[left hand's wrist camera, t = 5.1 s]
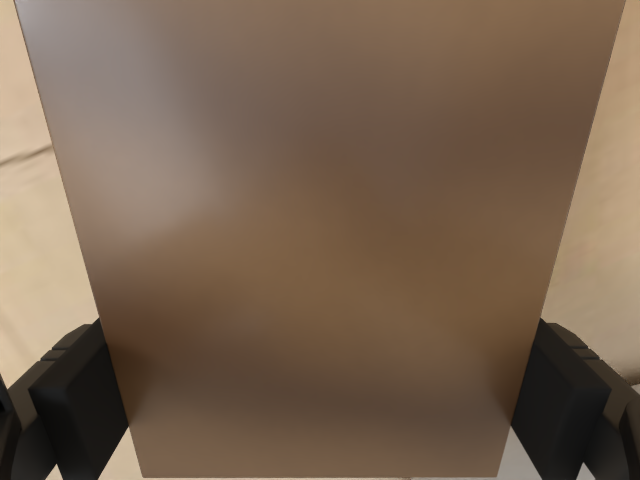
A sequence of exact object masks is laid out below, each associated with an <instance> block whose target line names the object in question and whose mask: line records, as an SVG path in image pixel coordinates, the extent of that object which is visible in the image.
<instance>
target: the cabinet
mask: <svg viewBox="0 0 640 480" xmlns="http://www.w3.org/2000/svg"><path fill="white" fill-rule="evenodd" d="M625 1H626V0H14V4H15V8H16V12H17V15H18V19H19V23H20V26H21V30H22V34H23V37H24V41H25V45H26V48H27V52H28V56H29V60H30V63H31V67H32V71H33V74H34V78H35V82H36V85H37V89H38V93H39V96H40V100H41V104H42V108H43V111H44V115H45V119H46V122H47V126H48V130H49V133H50V137H51V141H52V144H53V148H54V152H55V156H56V159H57V163H58V167H59V170H60V174H61V178H62V181H63V185H64V189H65V192H66V196H67V200H68V204H69V207H70V211H71V215H72V218H73V222H74V226H75V229H76V233H77V237H78V240H79V244H80V248H81V252H82V255H83V259H84V263H85V266H86V270H87V274H88V277H89V281H90V285H91V288H92V292H93V296H94V300H95V303H96V307H97V311H98V314H99V318H100V322H101V325H102V329H103V333H104V336H105V340H106V344H107V348H108V351H109V355H110V359H111V362H112V366H113V370H114V373H115V377H116V381H117V384H118V388H119V392H120V396H121V399H122V403H123V407H124V410H125V414H126V418H127V421H128V425H129V429H130V432H131V436H132V440H133V444H134V447H135V451H136V455H137V458H138V462H139V466H140V469H141V473H142V477H143V478H496V477H497V475H498V471H499V468H500V464H501V460H502V457H503V453H504V449H505V445H506V442H507V438H508V434H509V431H510V427H511V423H512V420H513V416H514V412H515V408H516V405H517V401H518V397H519V394H520V390H521V386H522V382H523V379H524V375H525V371H526V368H527V364H528V360H529V357H530V353H531V349H532V345H533V342H534V338H535V334H536V331H537V327H538V323H539V320H540V316H541V312H542V308H543V305H544V301H545V297H546V294H547V290H548V286H549V283H550V279H551V275H552V271H553V268H554V264H555V260H556V257H557V253H558V249H559V245H560V242H561V238H562V234H563V231H564V227H565V223H566V220H567V216H568V212H569V208H570V205H571V201H572V197H573V194H574V190H575V186H576V183H577V179H578V175H579V171H580V168H581V164H582V160H583V157H584V153H585V149H586V146H587V142H588V138H589V134H590V131H591V127H592V123H593V120H594V116H595V112H596V108H597V105H598V101H599V97H600V94H601V90H602V86H603V83H604V79H605V75H606V71H607V68H608V64H609V60H610V57H611V53H612V49H613V46H614V42H615V38H616V34H617V31H618V27H619V23H620V20H621V16H622V12H623V9H624V5H625Z"/></svg>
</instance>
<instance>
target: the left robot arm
mask: <svg viewBox="0 0 640 480" xmlns="http://www.w3.org/2000/svg"><path fill="white" fill-rule="evenodd" d="M128 426H129V425H128V421H127V418H126V414H125V410H124V407H123V403H122V399H121V396H120V392H119V388H118V384H117V381H116V377H115V373H114V370H113V366H112V362H111V359H110V355H109V351H108V348H107V344H106V340H105V336H104V333H103V329H102V325H101V322H100V318H98V319H97V320H96V321H95V322H94V323H93V324H84V325H82V326H80V327H78V328H77V329H75V330H73V331H72V332H70V333H68V334H67V335H65V336H64V337H63V338H62V339H61V340H60V341H59V342H58V343H57V344H55V345H54V346H53V347H52V350H49V351H48V352H47V353H46V354H45V355H44V356H43V357H42V358H41V360H40V361H37V362H36V363H35V364H34V365H33V366H32V367H31V368H30V369H29V370H28V371H27V372H26V373H25V374H23V375H22V376H21V377H20V378H19V379H18V380H17V381H16V382H15V383H14V384H13V385H12V386H11V387H10V388H9V389H7V388H6V386H5V384H4V381H3V379H2V376H1V374H0V480H45V479H46V478H47V476H48V475H49V474H50V472H51V471H52V469H53V468H54V467H55V465H56V464H57V465H58V468H59V470H60V473H61V475H62V478H63V480H98V478H99V476H100V475H101V473H102V471H103V470H104V468H105V466H106V464H107V463H108V461H109V459H110V457H111V456H112V454H113V452H114V451H115V449H116V447H117V445H118V444H119V442H120V440H121V439H122V437H123V435H124V433H125V432H126V430H127V428H128ZM511 427H512V429H513V431H514V432H515V434H516V436H517V437H518V439H519V441H520V443H521V444H522V446H523V448H524V450H525V451H526V453H527V455H528V456H529V458H530V460H531V462H532V463H533V465H534V467H535V468H536V470H537V472H538V474H539V475H540V477H541V479H542V480H576V479H577V477H578V474H579V472H580V469H581V467H582V464H583V462H584V464H585V465H586V467H587V468H588V469H589V471H590V472H591V474H592V475H593V476H594V478H595V480H640V394H639V393H637V392H636V391H635V390H634V389H633V388H632V387H631V386H630V385H629V384H628V383H627V382H626V381H625V380H623V379H622V378H621V377H620V376H619V375H618V374H617V373H616V372H615V371H614V370H613V369H612V368H611V367H610V366H608V365H607V364H606V363H605V362H604V361H603V360H600V359H599V356H598V355H597V354H596V353H594V352H593V351H592V350H591V349H588V346H587V345H586V344H585V343H584V342H583V341H582V340H581V339H579V338H578V337H577V336H576V335H575V334H574V333H572V332H570V331H569V330H567V329H565V328H564V327H562V326H560V325H558V324H557V323H546V322H545V321H544V320H543V319H542V318H541V317H540V320H539V323H538V327H537V331H536V334H535V338H534V342H533V345H532V349H531V353H530V357H529V360H528V364H527V368H526V371H525V375H524V379H523V382H522V386H521V390H520V394H519V397H518V401H517V405H516V408H515V412H514V416H513V420H512V423H511Z"/></svg>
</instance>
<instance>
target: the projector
mask: <svg viewBox="0 0 640 480" xmlns="http://www.w3.org/2000/svg"><path fill="white" fill-rule="evenodd" d="M631 387H632V388H633V389H634V390H635V391H636V392H637V393H639V394H640V384H637V385H633V386H631ZM410 480H542V479H541V477H540V475H539V474H538V472H537V470H536V468H535V467H534V465H533V463H532V462H531V460H530V458H529V456H528V455H527V453H526V451H525V450H524V448H523V446H522V444H521V443H520V441H519V439H518V437H517V436H516V434H515V432H514V431H513V429H512V427H510V431H509V434H508V438H507V442H506V445H505V449H504V453H503V457H502V460H501V464H500V468H499V471H498V475H497V477H496V478H411V479H410ZM576 480H595V478H594V476H593V475H592V474H591V472H590V471H589V469H588V468H587V467H586V465H585V464H584V462H583V464H582V467H581V469H580V472H579V474H578V477H577V479H576Z"/></svg>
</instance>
